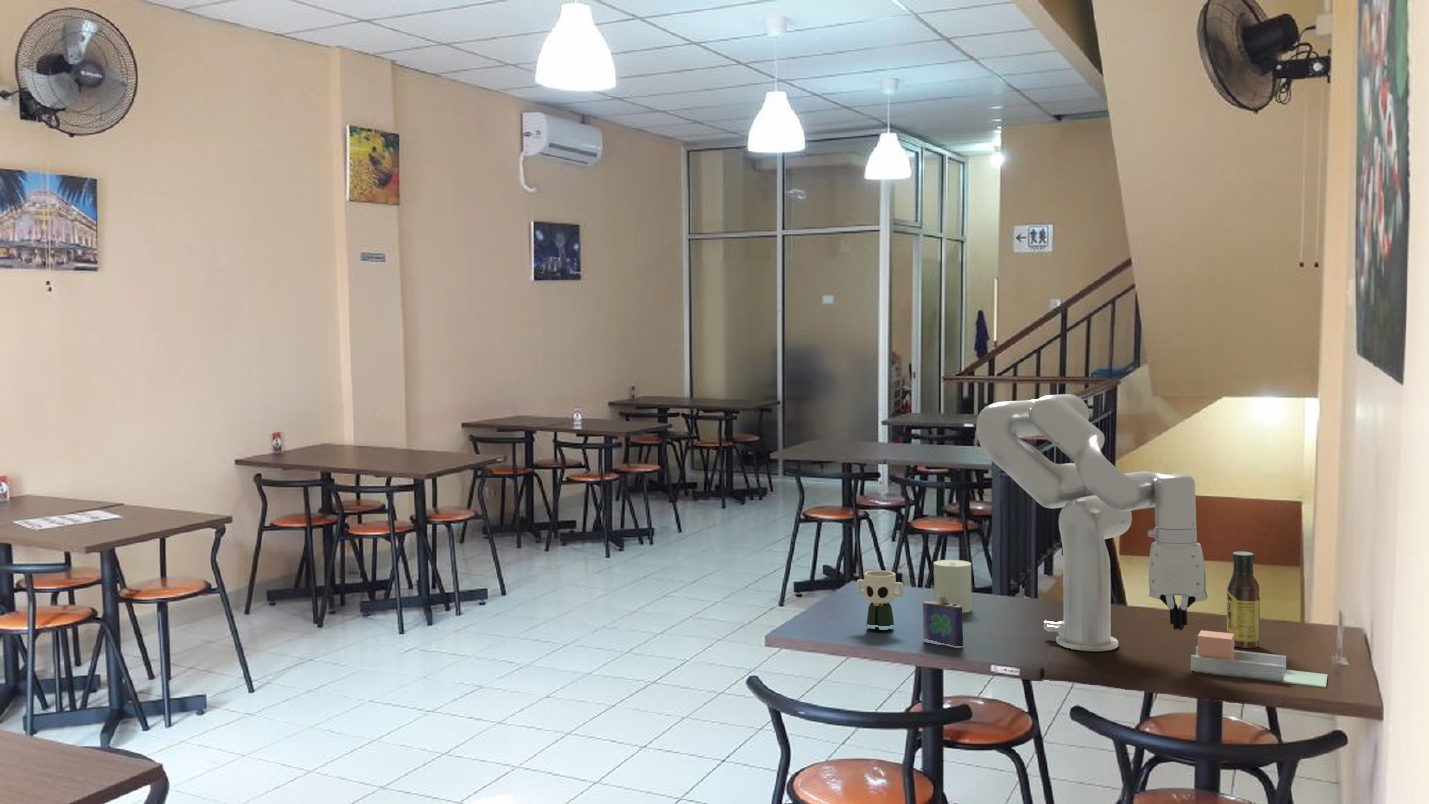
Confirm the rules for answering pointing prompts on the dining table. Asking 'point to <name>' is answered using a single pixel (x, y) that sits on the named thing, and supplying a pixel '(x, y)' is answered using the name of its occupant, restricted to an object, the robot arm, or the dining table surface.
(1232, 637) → the block
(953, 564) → the can
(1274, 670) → the chute
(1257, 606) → the sauce bottle
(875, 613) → the character mug
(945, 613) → the flask
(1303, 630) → the dining table surface
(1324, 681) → the pad
